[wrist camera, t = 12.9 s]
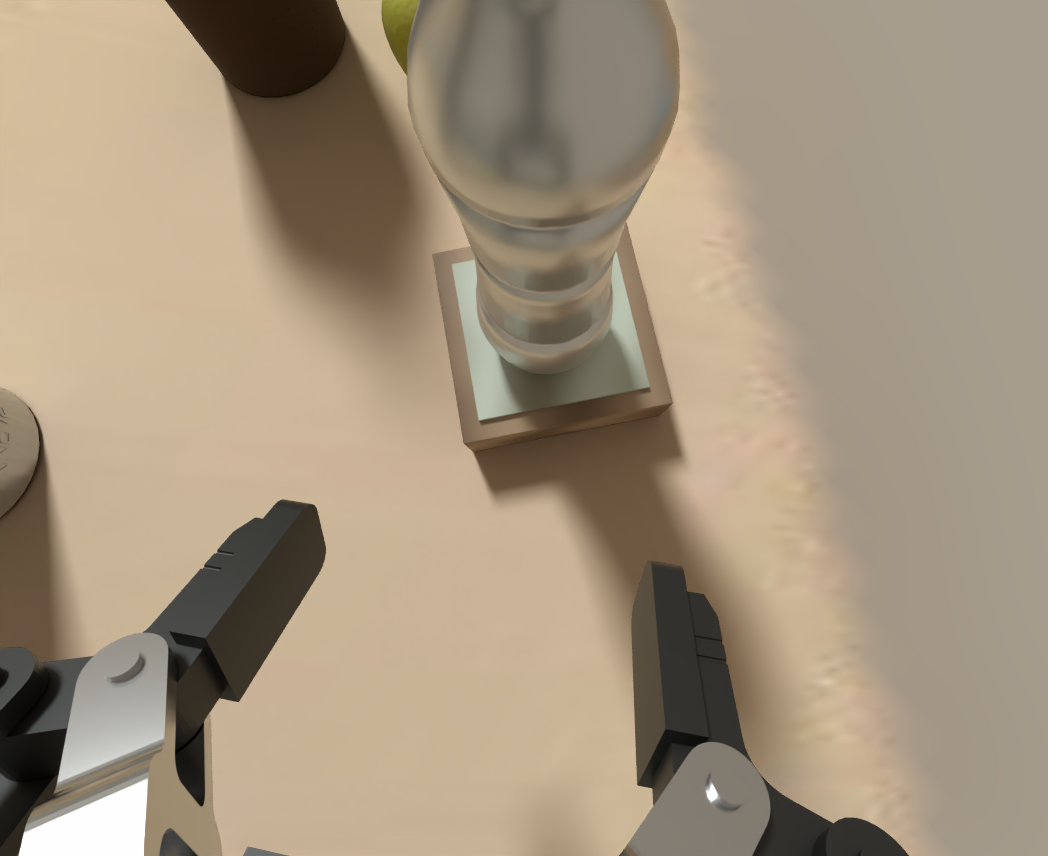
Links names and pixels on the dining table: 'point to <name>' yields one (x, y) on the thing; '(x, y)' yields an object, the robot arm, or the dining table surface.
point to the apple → (399, 26)
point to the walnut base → (550, 399)
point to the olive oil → (266, 40)
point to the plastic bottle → (543, 152)
